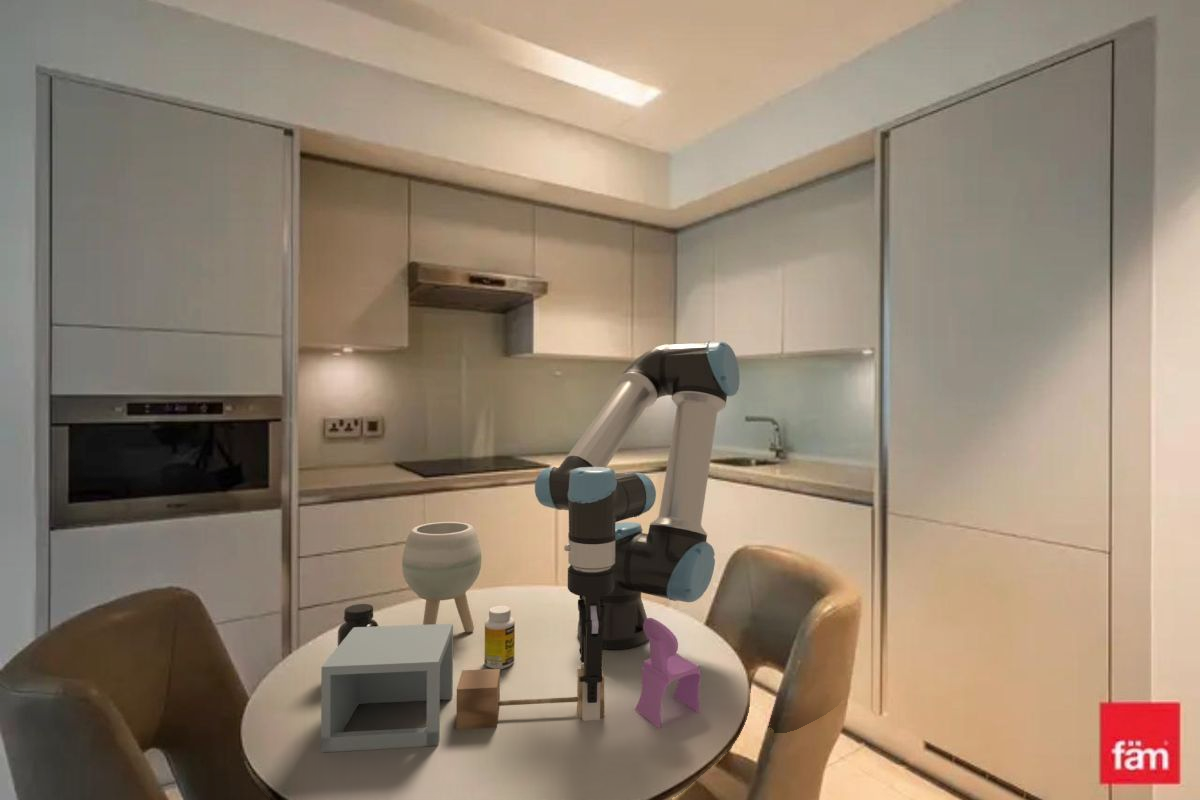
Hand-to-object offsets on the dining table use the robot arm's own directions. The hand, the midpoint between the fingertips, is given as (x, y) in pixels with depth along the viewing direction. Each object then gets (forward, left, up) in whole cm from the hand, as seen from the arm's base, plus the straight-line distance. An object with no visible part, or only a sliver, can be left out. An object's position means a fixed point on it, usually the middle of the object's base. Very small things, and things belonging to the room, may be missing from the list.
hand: (589, 712), depth 91 cm
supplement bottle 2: (+15, -18, 0) cm, 24 cm away
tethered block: (+9, 0, 0) cm, 9 cm away
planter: (+28, -33, 0) cm, 44 cm away
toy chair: (-13, +1, 0) cm, 13 cm away
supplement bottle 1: (+40, -16, 0) cm, 44 cm away
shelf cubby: (+30, 0, 0) cm, 30 cm away
